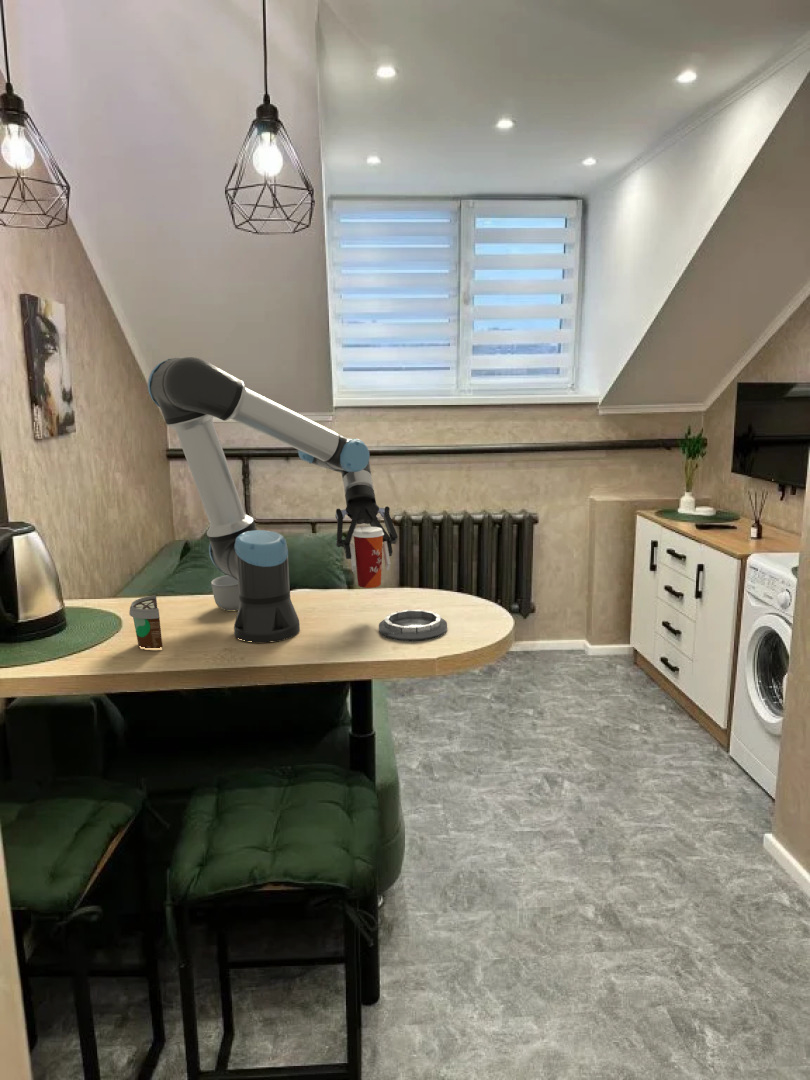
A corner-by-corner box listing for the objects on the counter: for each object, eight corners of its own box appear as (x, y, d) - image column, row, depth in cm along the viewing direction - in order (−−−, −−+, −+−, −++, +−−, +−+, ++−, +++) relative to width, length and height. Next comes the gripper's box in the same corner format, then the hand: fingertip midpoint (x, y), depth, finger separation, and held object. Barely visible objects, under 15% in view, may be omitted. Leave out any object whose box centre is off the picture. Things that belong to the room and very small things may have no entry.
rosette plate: (373, 640, 169) (372, 629, 169) (384, 617, 185) (384, 607, 184) (444, 642, 167) (444, 630, 167) (449, 618, 183) (449, 608, 182)
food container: (132, 639, 175) (127, 597, 173) (160, 635, 177) (155, 594, 175) (133, 656, 164) (128, 612, 162) (163, 652, 166) (158, 609, 164)
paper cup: (381, 589, 181) (380, 532, 178) (350, 588, 182) (349, 531, 179) (387, 581, 188) (386, 526, 185) (357, 580, 189) (356, 525, 186)
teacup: (250, 613, 191) (248, 583, 190) (208, 614, 192) (205, 584, 190) (262, 597, 205) (260, 569, 203) (222, 598, 205) (220, 570, 203)
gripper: (396, 498, 198) (410, 573, 186) (318, 502, 194) (327, 578, 182) (400, 481, 192) (415, 557, 180) (320, 484, 187) (329, 562, 175)
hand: (371, 567), depth 181 cm, fingers closed on paper cup, 8 cm apart
